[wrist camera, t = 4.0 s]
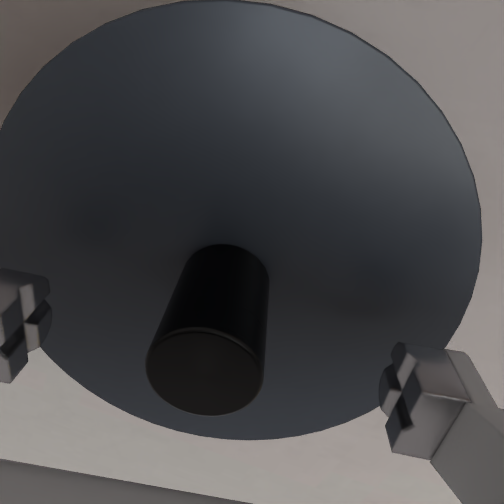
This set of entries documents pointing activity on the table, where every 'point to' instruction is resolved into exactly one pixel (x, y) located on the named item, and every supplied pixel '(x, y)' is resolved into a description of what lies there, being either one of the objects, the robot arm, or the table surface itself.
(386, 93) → the lid
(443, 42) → the table surface
